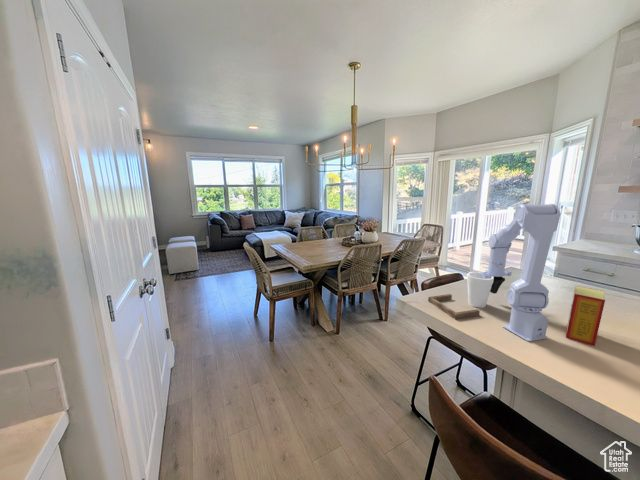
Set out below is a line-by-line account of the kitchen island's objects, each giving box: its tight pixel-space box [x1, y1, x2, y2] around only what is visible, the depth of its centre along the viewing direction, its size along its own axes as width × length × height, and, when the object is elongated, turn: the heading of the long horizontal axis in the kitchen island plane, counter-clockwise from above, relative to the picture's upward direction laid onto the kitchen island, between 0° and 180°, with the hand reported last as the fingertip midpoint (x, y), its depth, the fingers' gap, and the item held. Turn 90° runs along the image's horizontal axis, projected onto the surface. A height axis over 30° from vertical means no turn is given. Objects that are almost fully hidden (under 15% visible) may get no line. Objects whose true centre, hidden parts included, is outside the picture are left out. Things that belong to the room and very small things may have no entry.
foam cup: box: [466, 271, 494, 308], centre depth 107 cm, size 10×9×13 cm
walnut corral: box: [427, 293, 481, 320], centre depth 105 cm, size 16×11×2 cm
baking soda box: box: [565, 285, 606, 347], centre depth 83 cm, size 10×6×16 cm
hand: (493, 292), depth 109 cm, fingers closed
